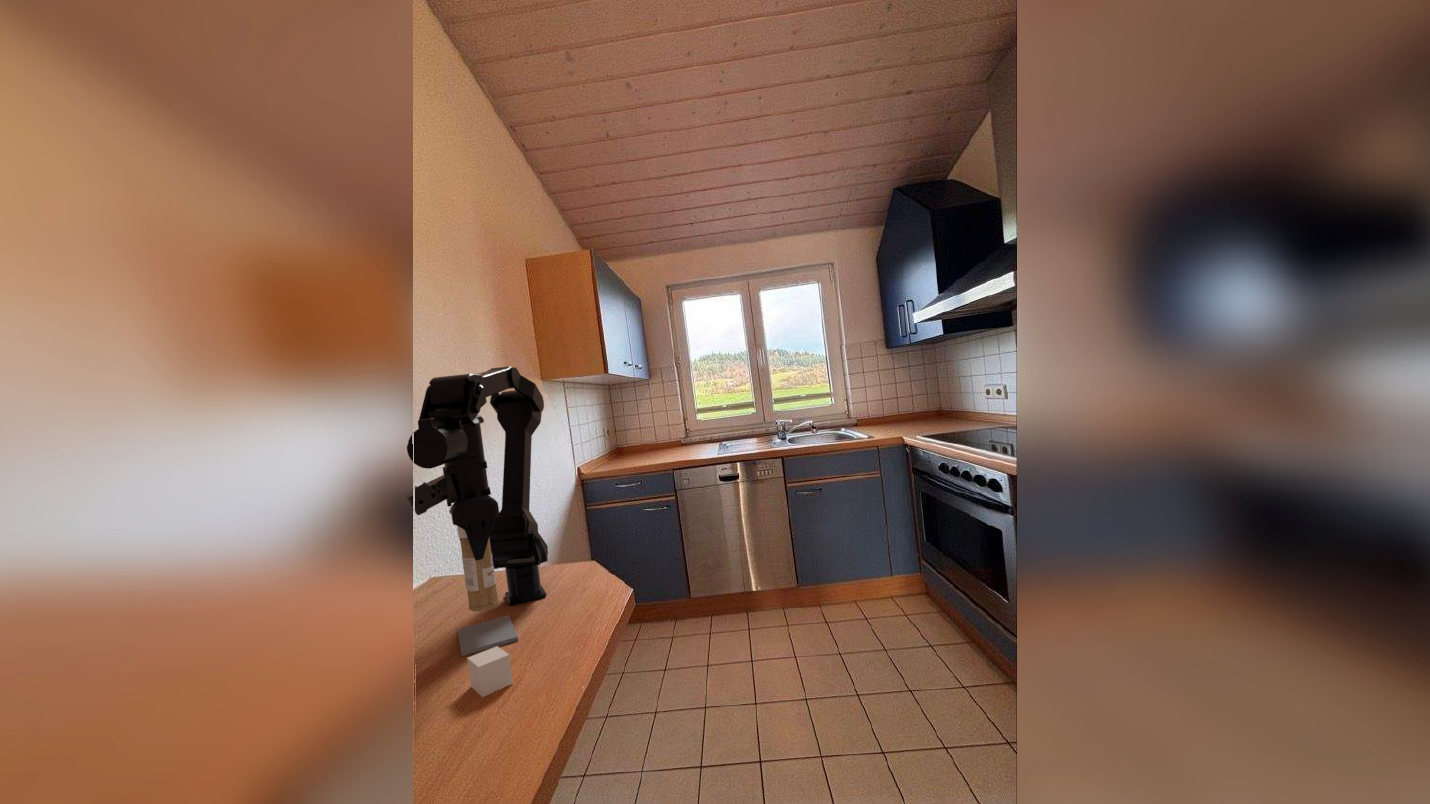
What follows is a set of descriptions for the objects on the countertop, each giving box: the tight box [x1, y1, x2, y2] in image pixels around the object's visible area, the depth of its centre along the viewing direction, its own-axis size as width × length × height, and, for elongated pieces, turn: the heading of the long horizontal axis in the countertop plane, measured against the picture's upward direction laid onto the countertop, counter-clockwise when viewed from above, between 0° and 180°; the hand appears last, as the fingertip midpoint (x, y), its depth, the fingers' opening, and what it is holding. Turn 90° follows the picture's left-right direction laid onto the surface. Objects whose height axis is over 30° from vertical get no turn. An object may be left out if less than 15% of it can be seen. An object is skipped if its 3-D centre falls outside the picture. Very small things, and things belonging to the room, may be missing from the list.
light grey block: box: [467, 646, 514, 698], centre depth 79 cm, size 4×4×4 cm
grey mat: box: [456, 614, 519, 657], centre depth 95 cm, size 10×8×1 cm
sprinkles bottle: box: [456, 526, 500, 612], centre depth 94 cm, size 5×5×14 cm
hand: (477, 555), depth 94 cm, fingers closed on sprinkles bottle, 4 cm apart
